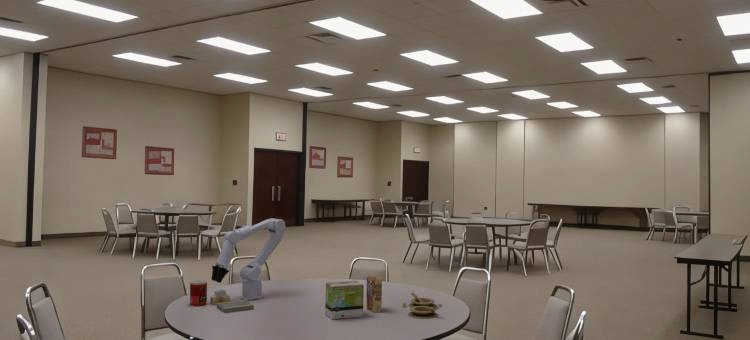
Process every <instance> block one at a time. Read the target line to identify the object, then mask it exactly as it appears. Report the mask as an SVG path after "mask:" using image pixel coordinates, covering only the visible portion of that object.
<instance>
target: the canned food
mask: <svg viewBox="0 0 750 340" xmlns="http://www.w3.org/2000/svg"><path fill="white" fill-rule="evenodd" d="M207 303H208V281H206V280H200V279H199V280H192V281H190V283H189V304H190V306H192V307H202V306H203V307H204V306H206V305H207Z"/></svg>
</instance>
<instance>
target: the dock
mask: <svg viewBox="0 0 750 340" xmlns="http://www.w3.org/2000/svg"><path fill="white" fill-rule="evenodd" d="M254 308H255V306H254V304H253V303H251V302H249V300H243V299H241V300H233V301H230V302H223V303H217V305H216V309H217V310H219V311H220V312H222V313H223V312H224V314H227V313H228V314H229V313H235V312H236V311H237V312H241V311H242V312H243V311H250V310H251V311H252V310H254Z"/></svg>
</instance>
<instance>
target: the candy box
mask: <svg viewBox="0 0 750 340" xmlns="http://www.w3.org/2000/svg"><path fill="white" fill-rule="evenodd" d="M365 293H366V302H365V303H366V305H365V309H367V310H369V311H371V312H373V313H380V312H382V309H383V308H382V303H383V302H382V301H383V298H382V297H383V279H382V278H380V277H377V276H374V275H369V276H366V292H365Z"/></svg>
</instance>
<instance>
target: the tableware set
mask: <svg viewBox="0 0 750 340" xmlns="http://www.w3.org/2000/svg"><path fill="white" fill-rule="evenodd" d="M410 295H411V296H412V297H414V298H412V299H411V300H410V303H409V305H408V306H407V305H406V304H407V303H406V302H403V303H402V309H406V308H408V307H409V308H410V311H409V312H408V313H407V314H408V317H409V318H413V319H420V320H421V319H422V320H427V319H428V320H429V319H433V318H436V317H438V313H437V312H436V310H439V309H440V308H442V307H443V304H442V303H438V304H436V303H435V299H433V298H429V297H418V295H416V293H414V292H411V293H410ZM437 305H438V306H437Z"/></svg>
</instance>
